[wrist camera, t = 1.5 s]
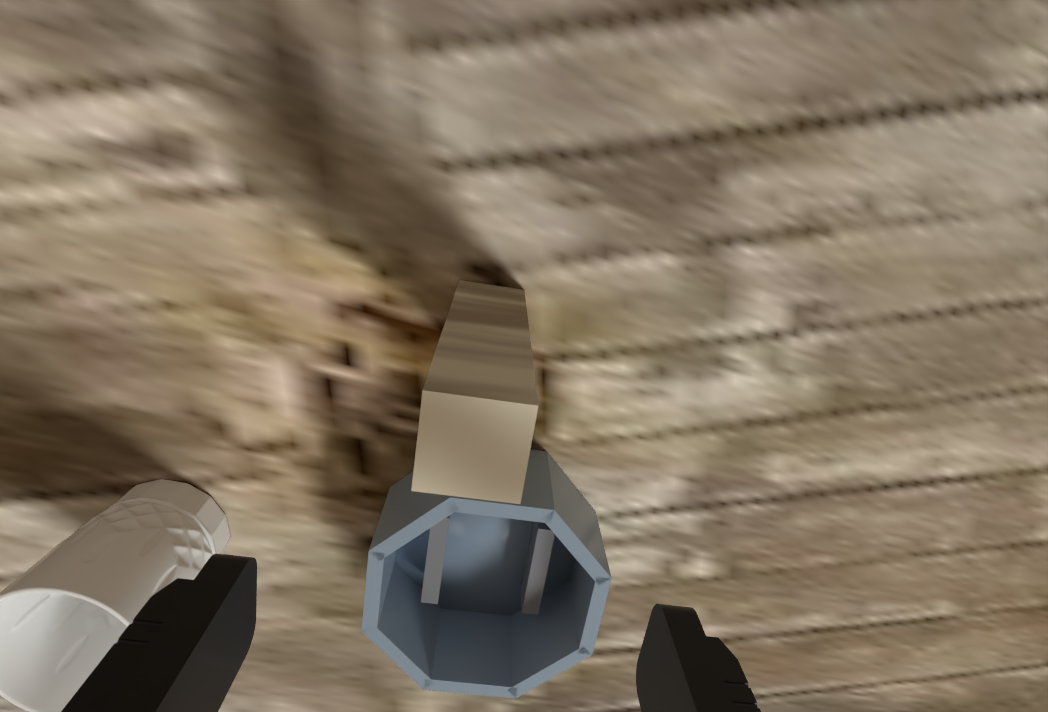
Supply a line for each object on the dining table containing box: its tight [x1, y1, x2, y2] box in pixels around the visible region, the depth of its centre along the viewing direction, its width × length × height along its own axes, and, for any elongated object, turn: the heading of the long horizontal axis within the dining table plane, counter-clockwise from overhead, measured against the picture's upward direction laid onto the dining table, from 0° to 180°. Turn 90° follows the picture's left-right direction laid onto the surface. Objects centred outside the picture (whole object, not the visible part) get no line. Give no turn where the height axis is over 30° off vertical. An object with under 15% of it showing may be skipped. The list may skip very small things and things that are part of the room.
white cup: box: [0, 479, 230, 712], centre depth 32 cm, size 8×8×10 cm
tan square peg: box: [411, 280, 538, 504], centre depth 26 cm, size 4×4×15 cm
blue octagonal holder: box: [362, 449, 611, 698], centre depth 35 cm, size 13×13×6 cm
